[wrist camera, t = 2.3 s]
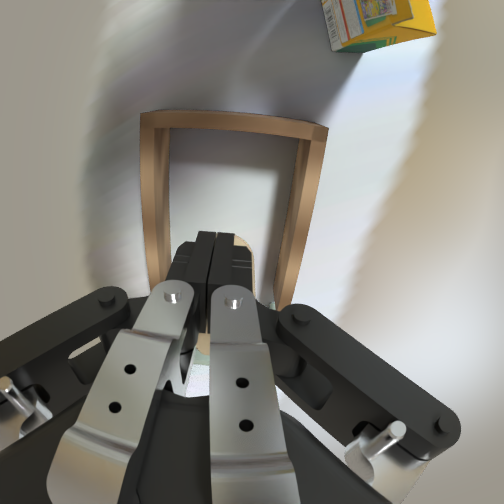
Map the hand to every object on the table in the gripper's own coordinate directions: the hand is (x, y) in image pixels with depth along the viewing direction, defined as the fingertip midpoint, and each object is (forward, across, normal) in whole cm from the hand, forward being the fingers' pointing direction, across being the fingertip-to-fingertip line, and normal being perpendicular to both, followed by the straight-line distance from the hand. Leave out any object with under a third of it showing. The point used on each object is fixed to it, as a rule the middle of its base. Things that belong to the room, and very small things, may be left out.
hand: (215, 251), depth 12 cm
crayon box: (+11, -7, -15) cm, 20 cm away
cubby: (+11, 0, +3) cm, 12 cm away
